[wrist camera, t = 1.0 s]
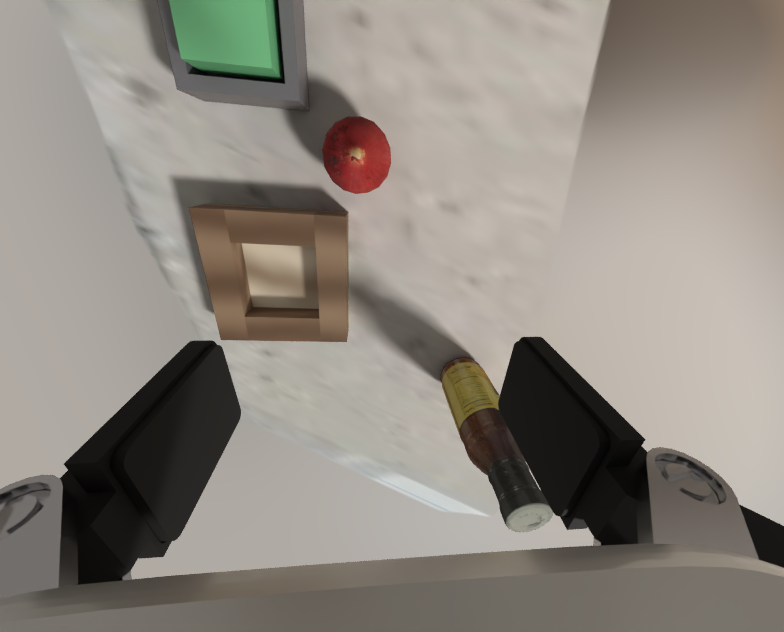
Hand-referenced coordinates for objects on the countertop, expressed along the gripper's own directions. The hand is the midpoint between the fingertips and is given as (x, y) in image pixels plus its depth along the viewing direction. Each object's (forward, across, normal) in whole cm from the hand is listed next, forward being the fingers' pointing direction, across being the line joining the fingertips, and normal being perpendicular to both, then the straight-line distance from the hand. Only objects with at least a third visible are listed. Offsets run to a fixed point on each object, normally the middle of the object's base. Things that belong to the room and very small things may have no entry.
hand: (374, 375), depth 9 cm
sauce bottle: (+24, -13, +20) cm, 34 cm away
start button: (+22, +10, -15) cm, 29 cm away
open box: (+24, +10, +5) cm, 27 cm away
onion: (+25, +1, -7) cm, 26 cm away
